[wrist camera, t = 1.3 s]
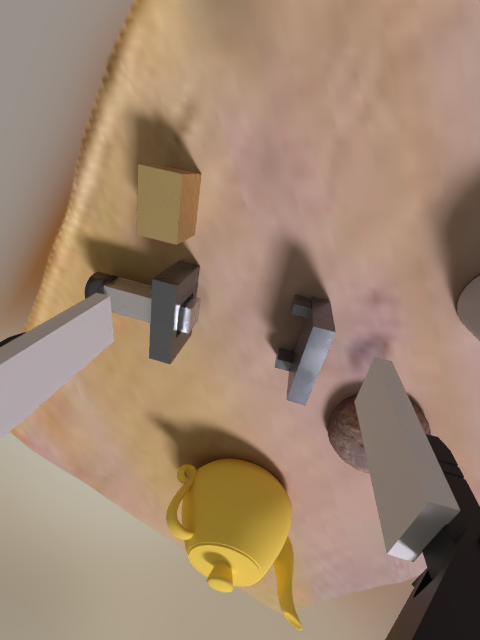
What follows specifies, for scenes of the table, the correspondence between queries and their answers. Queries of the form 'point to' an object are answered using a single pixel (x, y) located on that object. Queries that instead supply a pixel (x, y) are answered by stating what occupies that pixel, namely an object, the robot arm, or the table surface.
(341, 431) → the decorative stone
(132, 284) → the shaft
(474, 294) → the cup
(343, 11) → the table surface
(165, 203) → the block
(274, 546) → the teapot
